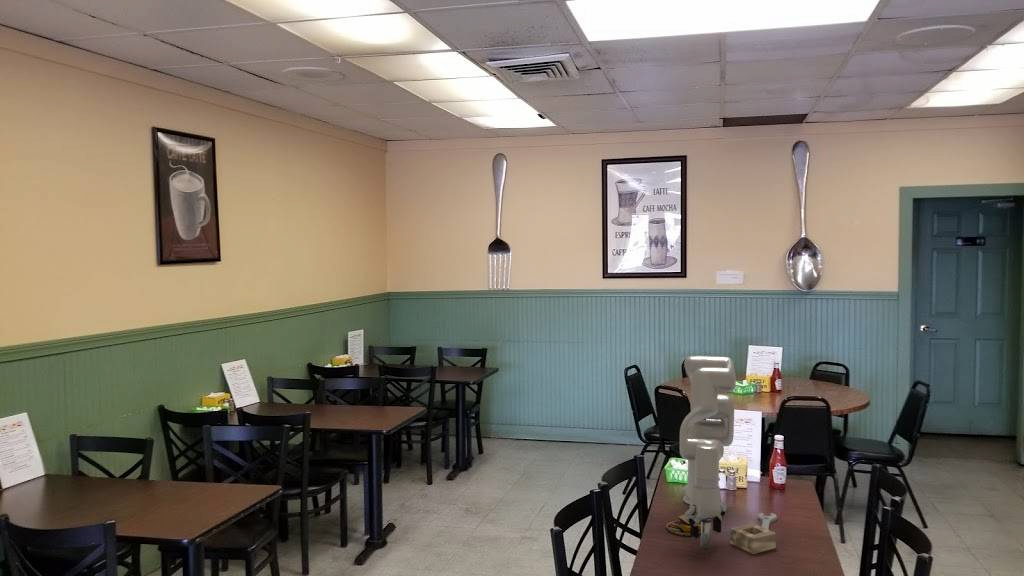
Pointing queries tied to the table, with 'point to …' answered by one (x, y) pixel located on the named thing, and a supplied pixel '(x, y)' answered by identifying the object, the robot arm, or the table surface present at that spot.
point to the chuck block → (753, 538)
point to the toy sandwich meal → (681, 526)
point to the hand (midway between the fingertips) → (705, 534)
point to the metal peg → (706, 533)
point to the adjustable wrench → (766, 519)
